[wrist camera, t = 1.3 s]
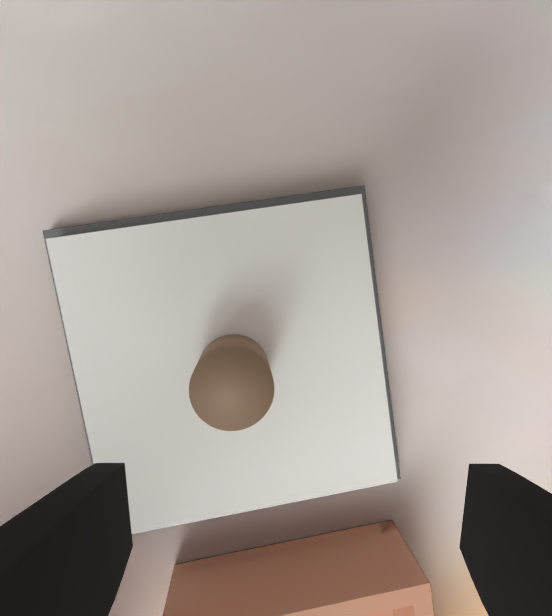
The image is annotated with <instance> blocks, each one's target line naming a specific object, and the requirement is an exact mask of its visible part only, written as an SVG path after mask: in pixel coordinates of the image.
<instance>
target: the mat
mask: <svg viewBox="0 0 552 616" xmlns="http://www.w3.org/2000/svg"><path fill="white" fill-rule="evenodd" d="M357 194H362V202H363V210H364V218H365V226H366V234H367V242H368V250H369V258H370V266H371V274H372V281H373V289H374V297H375V305H376V313H377V321H378V329H379V337H380V345H381V353H382V361H383V369H384V377H385V385H386V393H387V401H388V409H389V416H390V424H391V432H392V440H393V448H394V456H395V464H396V472H397V479H400V478H401V477H400V469H399V461H398V453H397V445H396V437H395V429H394V421H393V413H392V405H391V397H390V389H389V381H388V373H387V365H386V357H385V349H384V341H383V333H382V325H381V317H380V309H379V301H378V293H377V285H376V277H375V269H374V261H373V253H372V245H371V237H370V229H369V221H368V213H367V205H366V197H365V189H364V186H357V187H350V188H343V189H336V190H328V191H321V192H314V193H307V194H300V195H293V196H286V197H279V198H272V199H264V200H257V201H250V202H243V203H236V204H229V205H222V206H215V207H208V208H201V209H193V210H186V211H179V212H172V213H165V214H158V215H151V216H144V217H137V218H129V219H122V220H115V221H108V222H101V223H94V224H87V225H80V226H73V227H66V228H58V229H51V230H44V231H43V234H44V239H45V244H46V248H47V243H46V239H48V238H55V237H62V236H69V235H76V234H83V233H90V232H97V231H104V230H111V229H118V228H125V227H132V226H139V225H146V224H153V223H160V222H168V221H175V220H182V219H189V218H196V217H203V216H210V215H217V214H224V213H231V212H238V211H245V210H252V209H259V208H266V207H273V206H280V205H287V204H294V203H301V202H308V201H315V200H322V199H329V198H336V197H343V196H350V195H357ZM47 253H48V248H47ZM48 258H49V253H48ZM49 262H50V258H49ZM50 267H51V262H50ZM51 272H52V267H51ZM52 276H53V272H52ZM53 281H54V276H53ZM54 286H55V281H54ZM55 290H56V286H55ZM56 295H57V290H56ZM57 300H58V295H57ZM58 305H59V309H60V304H59V300H58ZM60 314H61V309H60ZM61 319H62V323H63V318H62V314H61ZM63 328H64V323H63ZM64 333H65V328H64ZM65 337H66V333H65ZM66 342H67V337H66ZM67 347H68V342H67ZM68 351H69V347H68ZM69 356H70V351H69ZM70 361H71V356H70ZM71 365H72V361H71ZM72 370H73V365H72ZM73 375H74V370H73ZM74 379H75V375H74ZM75 384H76V379H75ZM76 389H77V384H76ZM77 393H78V389H77ZM78 398H79V393H78ZM79 403H80V398H79ZM80 408H81V403H80ZM81 412H82V408H81ZM82 417H83V412H82ZM83 422H84V417H83ZM84 426H85V422H84ZM85 431H86V426H85ZM86 436H87V431H86ZM87 440H88V436H87ZM88 445H89V440H88ZM89 450H90V445H89ZM90 454H91V450H90ZM91 459H92V454H91ZM92 464H93V459H92Z"/></svg>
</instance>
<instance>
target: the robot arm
mask: <svg viewBox="0 0 552 616" xmlns="http://www.w3.org/2000/svg"><path fill="white" fill-rule="evenodd" d="M132 546H133V544H132V533H131V523H130V513H129V503H128V492H127V482H126V472H125V463H95V464H93V465H91V466H90V467H88V468H86V469H85V470H83V471H82V472H80V473H79V474H77V475H76V476H74V477H72V478H71V479H70V480H68V481H67V482H65V483H64V484H62V485H61V486H59V487H58V488H56V489H55V490H53V491H52V492H50V493H49V494H47V495H46V496H45V497H43V498H42V499H40V500H39V501H37V502H36V503H34V504H33V505H31V506H30V507H28V508H27V509H25V510H24V511H22V512H21V513H19V514H18V515H16V516H15V517H14V518H12V519H11V520H9V521H8V522H6V523H5V524H3V525H2V526H0V616H108V614H109V611H110V609H111V607H112V605H113V602H114V600H115V597H116V594H117V592H118V589H119V586H120V583H121V580H122V577H123V574H124V571H125V568H126V565H127V562H128V559H129V556H130V553H131V550H132ZM460 550H461V552H462V555H463V557H464V560H465V562H466V565H467V568H468V570H469V573H470V575H471V578H472V580H473V582H474V585H475V587H476V589H477V592H478V594H479V596H480V599H481V601H482V603H483V605H484V607H485V609H486V611H487V613H488V615H489V616H552V494H551V493H549V492H548V491H546V490H544V489H543V488H541V487H539V486H538V485H536V484H534V483H533V482H531V481H529V480H527V479H526V478H524V477H522V476H521V475H519V474H517V473H515V472H513V471H512V470H510V469H508V468H506V467H504V466H502V465H500V464H469V470H468V479H467V487H466V496H465V505H464V514H463V522H462V531H461V540H460Z"/></svg>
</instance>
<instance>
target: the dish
mask: <svg viewBox="0 0 552 616" xmlns="http://www.w3.org/2000/svg"><path fill="white" fill-rule="evenodd" d="M163 616H434V611H433V603H432V595H431V586H430V582H429V580H428V579H427V577H426V575H425V574H424V572H423V570H422V569H421V567H420V565H419V564H418V562H417V560H416V559H415V557H414V555H413V554H412V552H411V551H410V549H409V547H408V546H407V544H406V542H405V541H404V539H403V537H402V536H401V534H400V532H399V531H398V529H397V527H396V526H395V524H394V522H393V521H392V520H390V521H385V522H380V523H375V524H371V525H366V526H361V527H356V528H351V529H346V530H341V531H337V532H332V533H327V534H322V535H317V536H312V537H307V538H302V539H298V540H293V541H288V542H283V543H278V544H273V545H268V546H264V547H259V548H254V549H249V550H244V551H239V552H234V553H229V554H225V555H220V556H215V557H210V558H205V559H200V560H195V561H191V562H186V563H181V564H176V565H174V569H173V573H172V578H171V582H170V586H169V591H168V595H167V599H166V604H165V608H164V612H163Z"/></svg>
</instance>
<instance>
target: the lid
mask: <svg viewBox="0 0 552 616" xmlns="http://www.w3.org/2000/svg"><path fill="white" fill-rule="evenodd" d="M46 243H47V248H48V253H49V258H50V262H51V267H52V272H53V276H54V281H55V286H56V290H57V295H58V300H59V304H60V309H61V314H62V318H63V323H64V328H65V333H66V337H67V342H68V347H69V351H70V356H71V361H72V365H73V370H74V375H75V379H76V384H77V389H78V393H79V398H80V403H81V408H82V412H83V417H84V422H85V426H86V431H87V436H88V440H89V445H90V450H91V454H92V459H93V464H95V463H125V472H126V482H127V492H128V503H129V513H130V523H131V533H132V534H137V533H142V532H147V531H152V530H157V529H162V528H167V527H172V526H177V525H182V524H187V523H192V522H197V521H202V520H207V519H212V518H217V517H222V516H227V515H232V514H237V513H242V512H247V511H253V510H258V509H263V508H268V507H273V506H278V505H283V504H288V503H293V502H298V501H303V500H308V499H313V498H318V497H323V496H328V495H333V494H338V493H343V492H348V491H353V490H358V489H363V488H368V487H374V486H379V485H384V484H389V483H394V482H398V480H397V472H396V464H395V456H394V448H393V440H392V432H391V424H390V416H389V409H388V401H387V393H386V385H385V377H384V369H383V361H382V353H381V345H380V337H379V329H378V321H377V313H376V305H375V297H374V289H373V281H372V274H371V266H370V258H369V250H368V242H367V234H366V226H365V218H364V210H363V202H362V194H357V195H350V196H343V197H336V198H329V199H322V200H315V201H308V202H301V203H294V204H287V205H280V206H273V207H266V208H259V209H252V210H245V211H238V212H231V213H224V214H217V215H210V216H203V217H196V218H189V219H182V220H175V221H168V222H160V223H153V224H146V225H139V226H132V227H125V228H118V229H111V230H104V231H97V232H90V233H83V234H76V235H69V236H62V237H55V238H48V239H46Z"/></svg>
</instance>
